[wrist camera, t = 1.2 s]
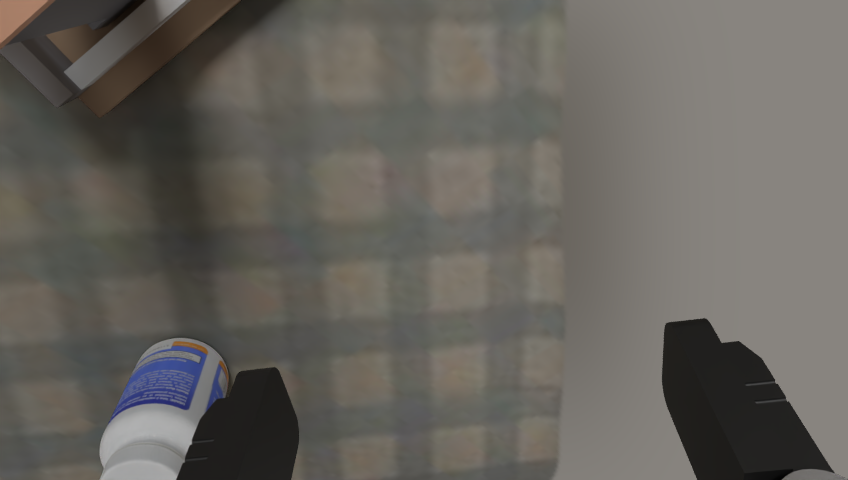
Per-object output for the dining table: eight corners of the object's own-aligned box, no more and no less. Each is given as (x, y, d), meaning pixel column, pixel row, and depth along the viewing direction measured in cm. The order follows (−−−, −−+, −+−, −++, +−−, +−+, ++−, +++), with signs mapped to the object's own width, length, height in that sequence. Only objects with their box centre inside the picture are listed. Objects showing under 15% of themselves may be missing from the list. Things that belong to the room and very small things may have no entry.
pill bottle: (118, 371, 38) (51, 495, 30) (181, 318, 38) (132, 429, 29) (187, 423, 41) (144, 553, 32) (250, 373, 40) (223, 494, 31)
